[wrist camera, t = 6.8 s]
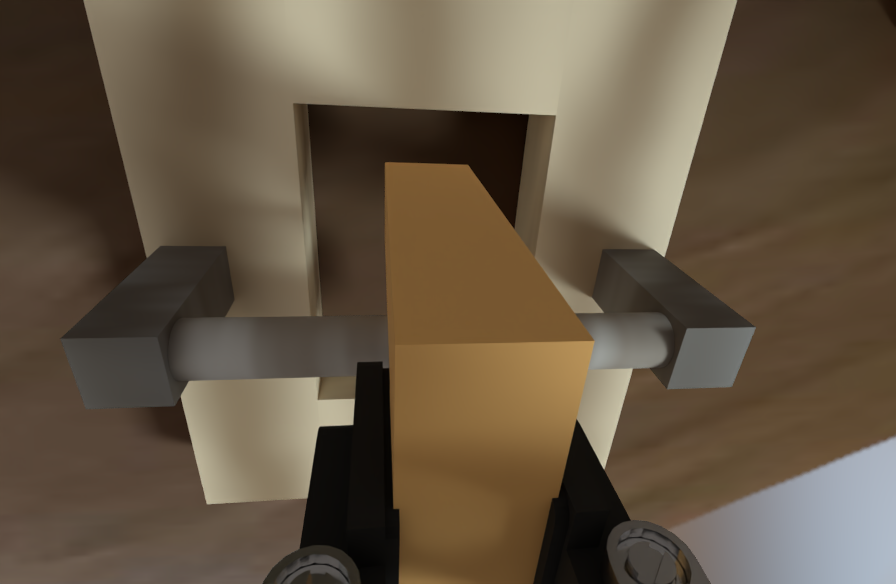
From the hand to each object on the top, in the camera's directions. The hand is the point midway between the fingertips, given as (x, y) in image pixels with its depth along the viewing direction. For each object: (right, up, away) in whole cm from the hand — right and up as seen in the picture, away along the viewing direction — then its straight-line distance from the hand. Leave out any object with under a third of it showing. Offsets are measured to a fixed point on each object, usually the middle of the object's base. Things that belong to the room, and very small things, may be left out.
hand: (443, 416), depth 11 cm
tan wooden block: (-1, +3, +5) cm, 6 cm away
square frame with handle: (-1, +5, +9) cm, 10 cm away
